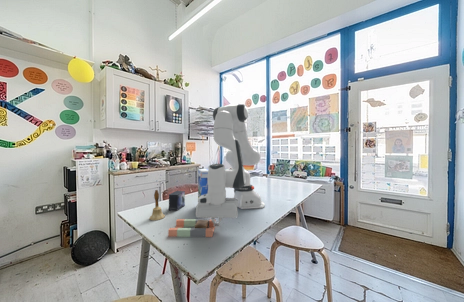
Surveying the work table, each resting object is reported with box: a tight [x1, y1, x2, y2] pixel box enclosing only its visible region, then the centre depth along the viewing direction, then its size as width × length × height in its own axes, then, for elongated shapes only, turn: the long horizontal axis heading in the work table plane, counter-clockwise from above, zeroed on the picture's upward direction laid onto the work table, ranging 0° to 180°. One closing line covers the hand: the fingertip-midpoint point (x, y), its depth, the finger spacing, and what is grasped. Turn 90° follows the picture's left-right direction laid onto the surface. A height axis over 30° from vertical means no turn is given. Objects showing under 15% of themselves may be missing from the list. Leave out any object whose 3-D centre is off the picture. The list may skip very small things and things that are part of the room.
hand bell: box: [148, 189, 166, 222], centre depth 100 cm, size 8×8×16 cm
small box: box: [168, 190, 186, 212], centre depth 115 cm, size 11×6×10 cm, turn 168°
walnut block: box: [194, 220, 209, 228], centre depth 84 cm, size 5×6×4 cm
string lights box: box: [197, 168, 209, 199], centre depth 115 cm, size 13×8×26 cm, turn 21°
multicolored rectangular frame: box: [167, 218, 217, 238], centre depth 84 cm, size 20×12×3 cm, turn 88°
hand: (216, 226), depth 84 cm, fingers closed
